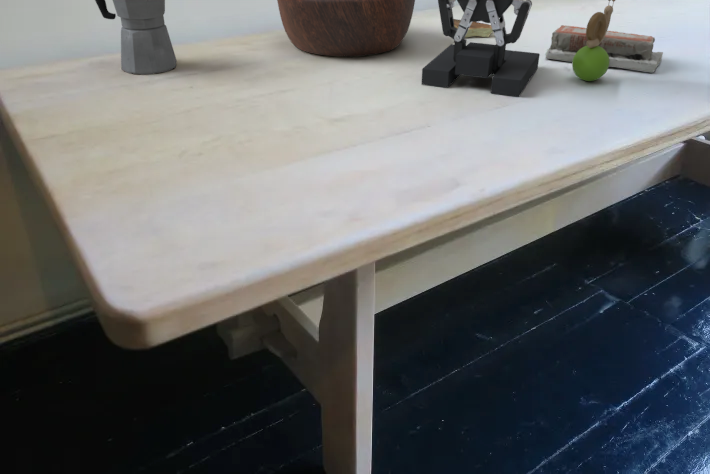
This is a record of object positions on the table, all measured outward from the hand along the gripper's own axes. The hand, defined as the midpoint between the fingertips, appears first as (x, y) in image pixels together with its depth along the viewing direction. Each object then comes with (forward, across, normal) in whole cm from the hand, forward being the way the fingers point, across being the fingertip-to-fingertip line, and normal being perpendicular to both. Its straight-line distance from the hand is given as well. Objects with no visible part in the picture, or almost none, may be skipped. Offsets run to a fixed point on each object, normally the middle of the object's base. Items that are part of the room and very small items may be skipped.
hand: (478, 66), depth 102 cm
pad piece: (0, 0, 0) cm, 0 cm away
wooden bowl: (+3, -28, +13) cm, 31 cm away
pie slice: (+3, -10, +30) cm, 32 cm away
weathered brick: (+3, +17, +21) cm, 27 cm away
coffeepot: (+3, -53, -14) cm, 55 cm away
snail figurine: (+3, +16, +8) cm, 18 cm away
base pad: (+2, 0, +3) cm, 4 cm away
